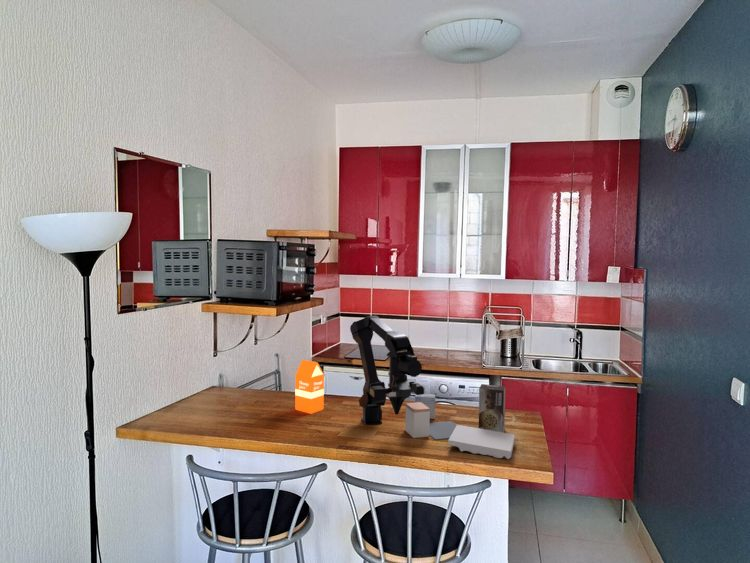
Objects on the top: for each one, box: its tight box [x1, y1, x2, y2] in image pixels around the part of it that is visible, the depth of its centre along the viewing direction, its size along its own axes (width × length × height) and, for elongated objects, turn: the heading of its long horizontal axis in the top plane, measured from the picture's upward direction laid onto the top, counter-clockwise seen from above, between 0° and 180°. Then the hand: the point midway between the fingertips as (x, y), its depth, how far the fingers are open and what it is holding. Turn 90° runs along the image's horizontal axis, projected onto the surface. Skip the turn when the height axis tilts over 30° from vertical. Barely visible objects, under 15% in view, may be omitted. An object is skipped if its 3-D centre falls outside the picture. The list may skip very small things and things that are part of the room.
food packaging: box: [447, 424, 516, 460], centre depth 172 cm, size 15×3×20 cm
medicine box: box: [414, 393, 436, 420], centre depth 202 cm, size 8×4×9 cm, turn 84°
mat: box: [429, 420, 458, 441], centre depth 187 cm, size 14×16×1 cm
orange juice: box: [294, 359, 325, 415], centre depth 208 cm, size 8×9×20 cm
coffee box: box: [477, 383, 506, 433], centre depth 188 cm, size 9×6×16 cm
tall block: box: [404, 402, 431, 439], centre depth 184 cm, size 6×8×10 cm
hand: (396, 414), depth 181 cm, fingers closed
